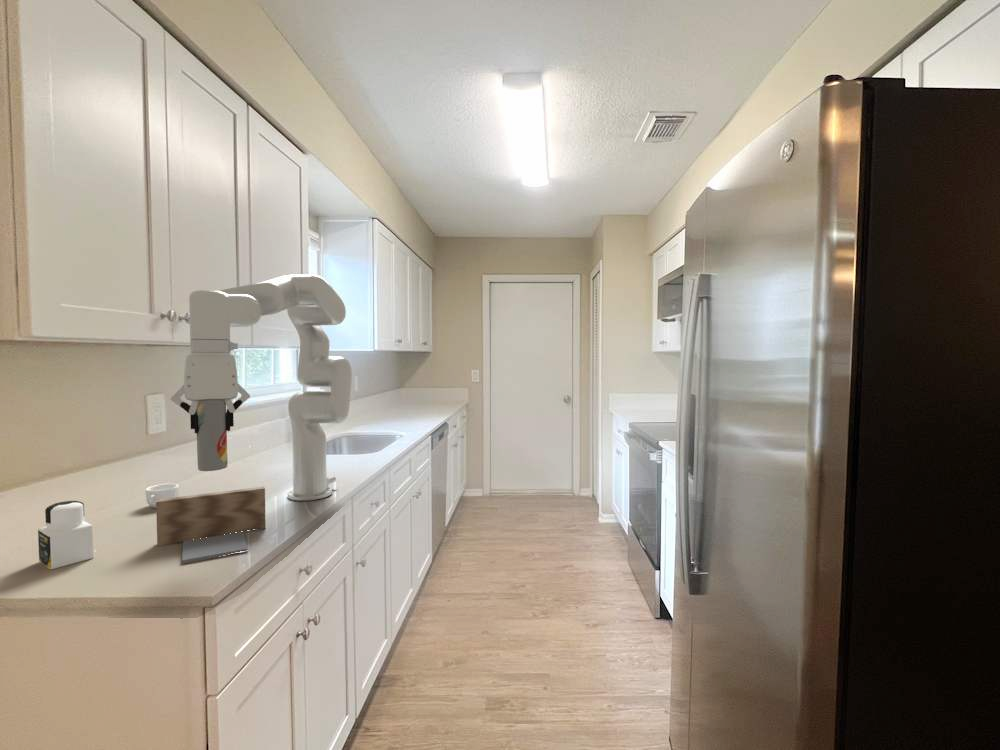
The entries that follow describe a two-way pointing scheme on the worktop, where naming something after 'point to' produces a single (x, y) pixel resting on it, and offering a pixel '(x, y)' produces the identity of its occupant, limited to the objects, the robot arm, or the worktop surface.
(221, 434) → the lotion bottle
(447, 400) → the worktop surface
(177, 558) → the worktop surface
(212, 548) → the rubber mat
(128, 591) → the worktop surface
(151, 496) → the teacup
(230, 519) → the brown wooden board
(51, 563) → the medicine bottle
